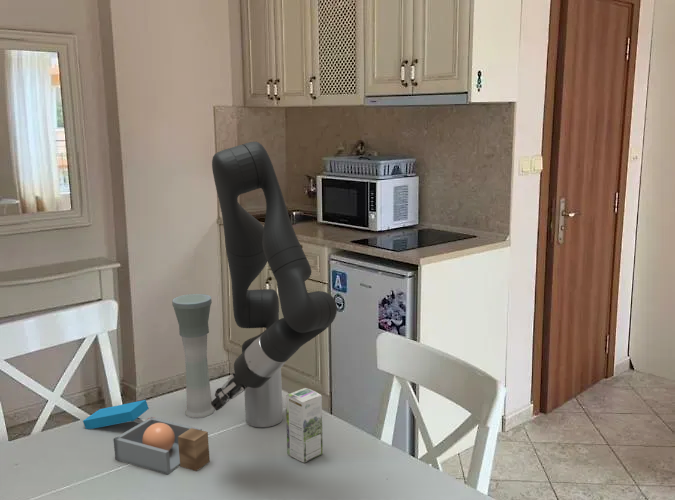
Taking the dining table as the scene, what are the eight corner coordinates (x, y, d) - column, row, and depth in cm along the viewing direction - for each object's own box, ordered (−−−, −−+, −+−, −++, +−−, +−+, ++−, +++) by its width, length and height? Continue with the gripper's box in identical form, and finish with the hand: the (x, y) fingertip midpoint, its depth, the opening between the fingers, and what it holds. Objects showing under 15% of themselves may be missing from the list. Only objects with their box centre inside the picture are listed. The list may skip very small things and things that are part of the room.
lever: (92, 447, 167) (152, 436, 161) (82, 420, 166) (142, 409, 160) (108, 434, 173) (167, 423, 167) (99, 409, 172) (158, 397, 167)
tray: (203, 449, 154) (201, 429, 153) (167, 474, 144) (165, 452, 143) (153, 436, 161) (151, 417, 160) (115, 459, 151) (113, 438, 150)
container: (214, 419, 169) (207, 303, 163) (176, 420, 169) (167, 304, 163) (221, 403, 179) (214, 293, 173) (185, 404, 179) (177, 294, 173)
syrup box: (306, 446, 155) (303, 386, 152) (323, 454, 151) (321, 393, 148) (287, 455, 151) (284, 394, 148) (304, 464, 147) (302, 401, 144)
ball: (178, 420, 151) (183, 450, 152) (159, 415, 156) (163, 443, 157) (153, 433, 146) (157, 463, 147) (133, 427, 150) (138, 456, 151)
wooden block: (209, 461, 149) (207, 431, 148) (196, 471, 145) (194, 440, 144) (193, 457, 151) (191, 427, 150) (180, 466, 147) (177, 436, 146)
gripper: (267, 334, 140) (223, 380, 149) (230, 357, 129) (184, 404, 137) (290, 362, 139) (244, 406, 147) (254, 388, 128) (207, 434, 136)
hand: (215, 405), depth 142 cm, fingers closed
